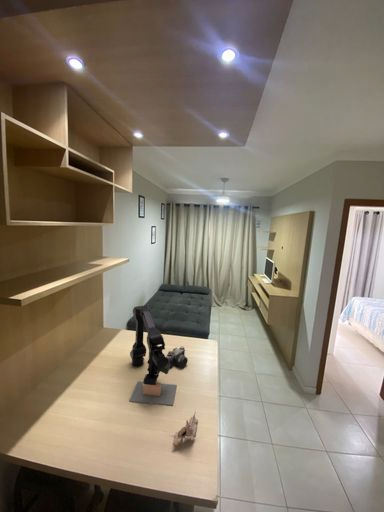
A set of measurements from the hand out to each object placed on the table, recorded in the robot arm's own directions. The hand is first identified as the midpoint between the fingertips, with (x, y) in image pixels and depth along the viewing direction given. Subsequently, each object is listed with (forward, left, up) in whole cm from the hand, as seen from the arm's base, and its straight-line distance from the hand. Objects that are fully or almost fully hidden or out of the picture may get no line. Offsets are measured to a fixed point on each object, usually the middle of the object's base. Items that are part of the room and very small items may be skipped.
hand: (153, 385), depth 115 cm
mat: (+1, -1, -4) cm, 4 cm away
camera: (+10, +25, -4) cm, 28 cm away
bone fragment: (+18, -22, -5) cm, 29 cm away
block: (0, -2, -3) cm, 4 cm away
